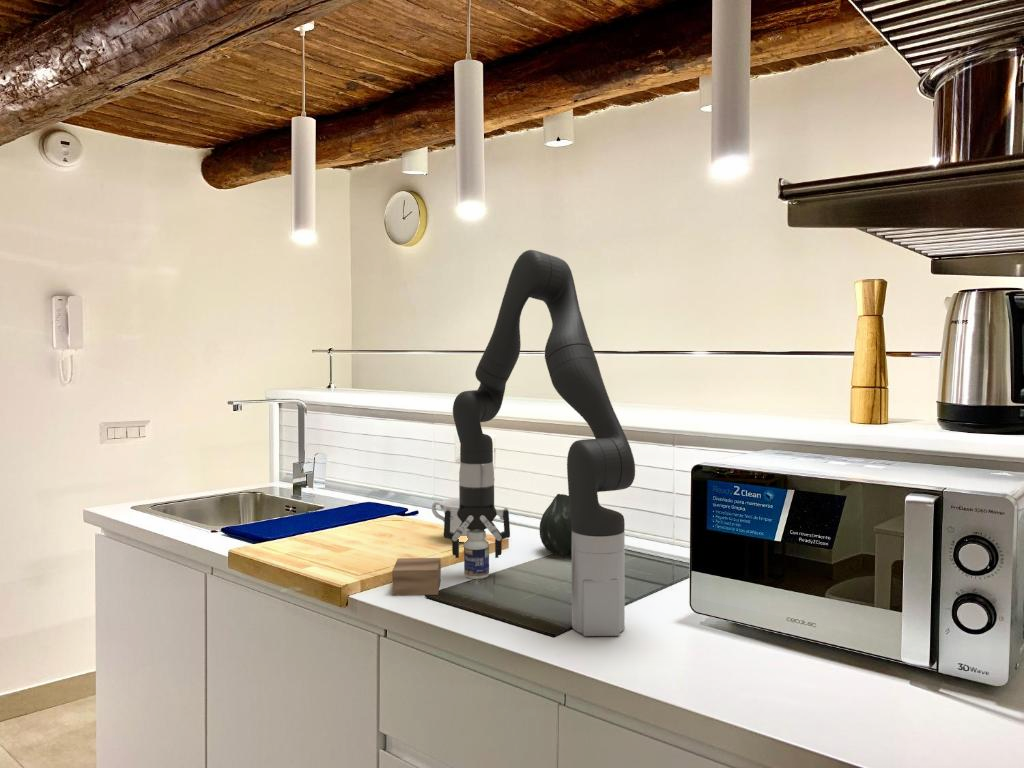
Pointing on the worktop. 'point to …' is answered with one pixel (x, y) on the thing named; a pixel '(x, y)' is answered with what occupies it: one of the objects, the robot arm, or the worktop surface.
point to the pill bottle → (476, 555)
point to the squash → (557, 527)
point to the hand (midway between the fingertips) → (477, 557)
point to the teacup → (453, 505)
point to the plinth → (416, 576)
